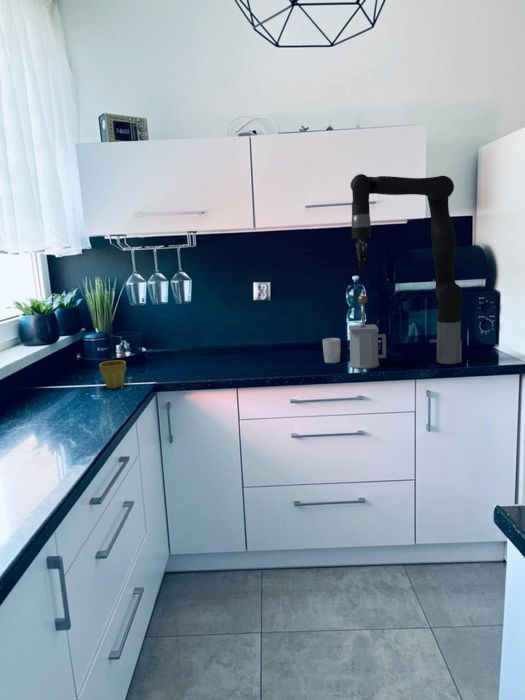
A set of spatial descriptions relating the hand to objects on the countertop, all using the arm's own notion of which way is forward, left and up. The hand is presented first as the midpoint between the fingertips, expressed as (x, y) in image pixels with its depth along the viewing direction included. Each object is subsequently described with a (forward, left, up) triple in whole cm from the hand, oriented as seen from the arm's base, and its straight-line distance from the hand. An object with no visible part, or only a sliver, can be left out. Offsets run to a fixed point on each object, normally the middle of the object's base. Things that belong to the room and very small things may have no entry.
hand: (362, 269), depth 224 cm
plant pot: (+102, +19, -41) cm, 112 cm away
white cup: (+13, -10, -41) cm, 44 cm away
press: (-1, 0, -40) cm, 41 cm away
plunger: (0, 0, -27) cm, 27 cm away
